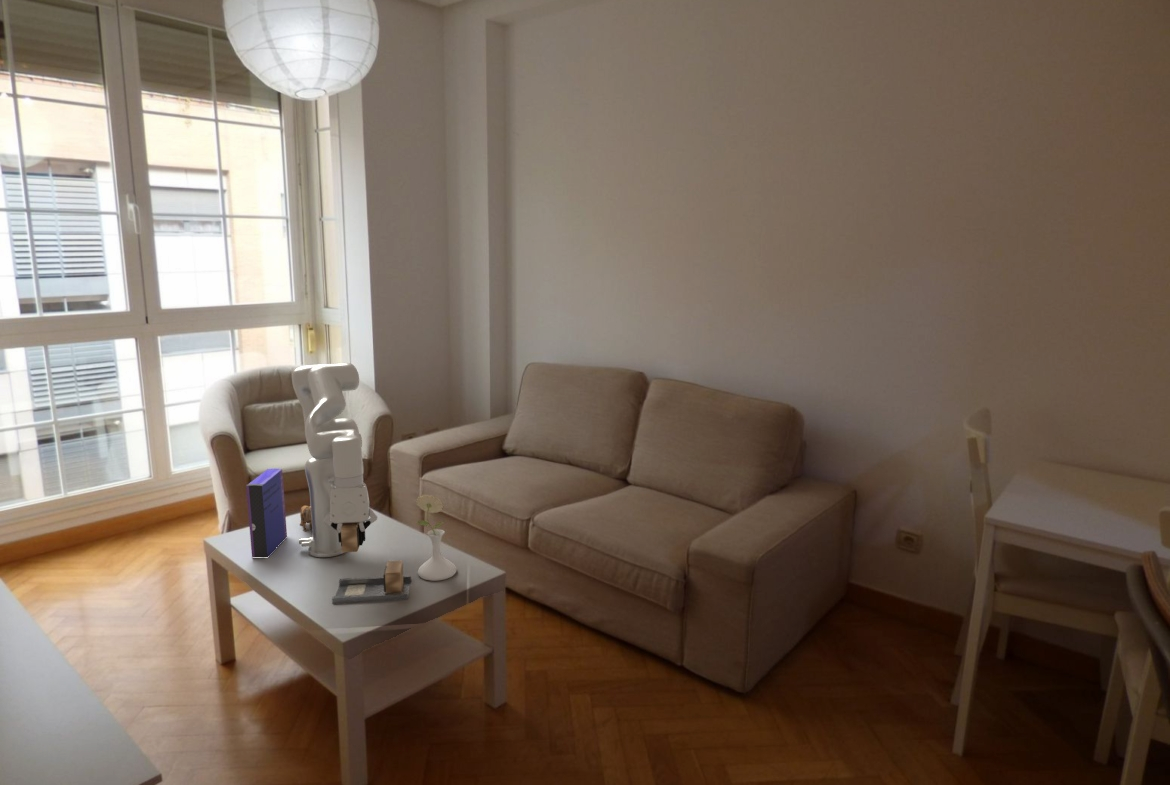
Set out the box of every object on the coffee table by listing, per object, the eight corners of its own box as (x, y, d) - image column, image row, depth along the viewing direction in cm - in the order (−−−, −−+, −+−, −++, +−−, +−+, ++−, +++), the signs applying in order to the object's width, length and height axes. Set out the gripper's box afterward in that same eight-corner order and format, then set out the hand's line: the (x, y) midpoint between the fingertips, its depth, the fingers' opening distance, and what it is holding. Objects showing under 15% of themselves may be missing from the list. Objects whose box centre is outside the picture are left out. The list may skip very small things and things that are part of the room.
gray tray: (332, 606, 204) (332, 598, 204) (340, 586, 216) (339, 578, 216) (407, 602, 207) (407, 594, 207) (411, 582, 219) (411, 574, 219)
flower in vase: (464, 573, 226) (462, 494, 221) (439, 588, 216) (436, 505, 211) (431, 564, 232) (429, 486, 227) (405, 577, 223) (402, 497, 218)
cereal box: (272, 537, 253) (267, 468, 248) (287, 537, 253) (282, 468, 248) (252, 558, 235) (246, 485, 231) (267, 558, 236) (261, 485, 231)
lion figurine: (321, 531, 258) (320, 506, 256) (305, 534, 255) (304, 509, 253) (308, 518, 270) (307, 494, 268) (293, 522, 267) (291, 497, 265)
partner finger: (383, 596, 208) (382, 573, 207) (387, 584, 216) (386, 561, 215) (400, 595, 209) (399, 572, 208) (403, 583, 217) (402, 560, 215)
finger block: (342, 552, 204) (340, 528, 203) (346, 541, 212) (345, 517, 211) (358, 551, 205) (357, 527, 203) (362, 540, 213) (361, 517, 211)
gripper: (313, 486, 200) (318, 551, 203) (378, 483, 202) (382, 547, 206) (319, 477, 207) (323, 540, 211) (382, 475, 210) (385, 537, 213)
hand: (352, 543), depth 208 cm, fingers closed on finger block, 4 cm apart
